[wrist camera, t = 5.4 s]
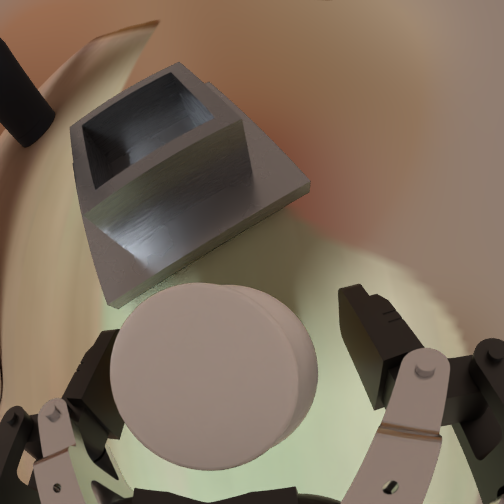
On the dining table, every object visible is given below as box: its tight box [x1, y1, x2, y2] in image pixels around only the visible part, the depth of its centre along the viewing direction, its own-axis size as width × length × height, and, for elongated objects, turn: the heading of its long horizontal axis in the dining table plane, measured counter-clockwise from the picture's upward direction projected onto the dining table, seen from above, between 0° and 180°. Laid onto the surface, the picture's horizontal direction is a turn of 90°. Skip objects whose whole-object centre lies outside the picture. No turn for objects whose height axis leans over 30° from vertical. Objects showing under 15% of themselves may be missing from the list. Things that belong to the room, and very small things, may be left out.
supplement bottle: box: [110, 283, 318, 471], centre depth 9 cm, size 5×5×10 cm
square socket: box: [70, 62, 310, 309], centre depth 16 cm, size 14×14×6 cm
